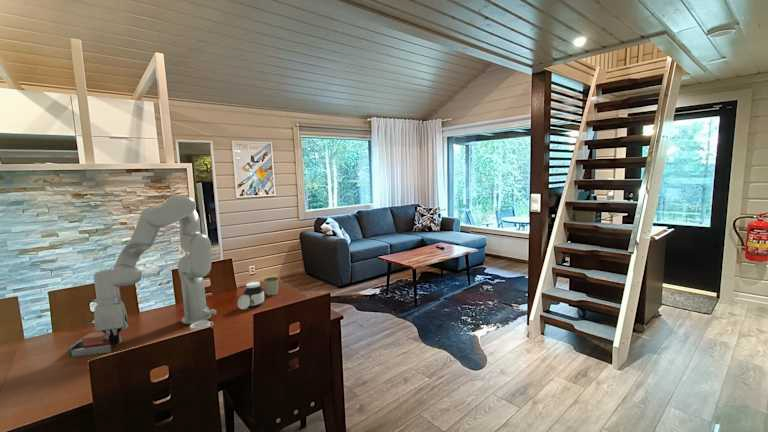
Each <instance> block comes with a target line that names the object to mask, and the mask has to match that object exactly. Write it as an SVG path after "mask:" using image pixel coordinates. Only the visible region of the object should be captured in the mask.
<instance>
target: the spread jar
mask: <svg viewBox="0 0 768 432" xmlns="http://www.w3.org/2000/svg"><path fill="white" fill-rule="evenodd" d="M264 301H265V292H264V288H263V287H262V286H261V282H259V281H251V282H247V283H246V284H245V289H244V290H243V294H242V295H241V296H240V297H239V298H238V301H237V307H238V308H239V309H240V310H247V309H248V308H257V307H260V306H261V305H263V303H264Z"/></svg>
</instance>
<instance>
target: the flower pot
mask: <svg viewBox="0 0 768 432" xmlns="http://www.w3.org/2000/svg"><path fill="white" fill-rule="evenodd" d="M280 279H281V278H280V277H278V276H271V277H266V278H263V279H262V283H263V286H264V288H265V294H266V295H267V296H270V297H271V296H275V295H276V296H277V294H278V292H279V282H280Z"/></svg>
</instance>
